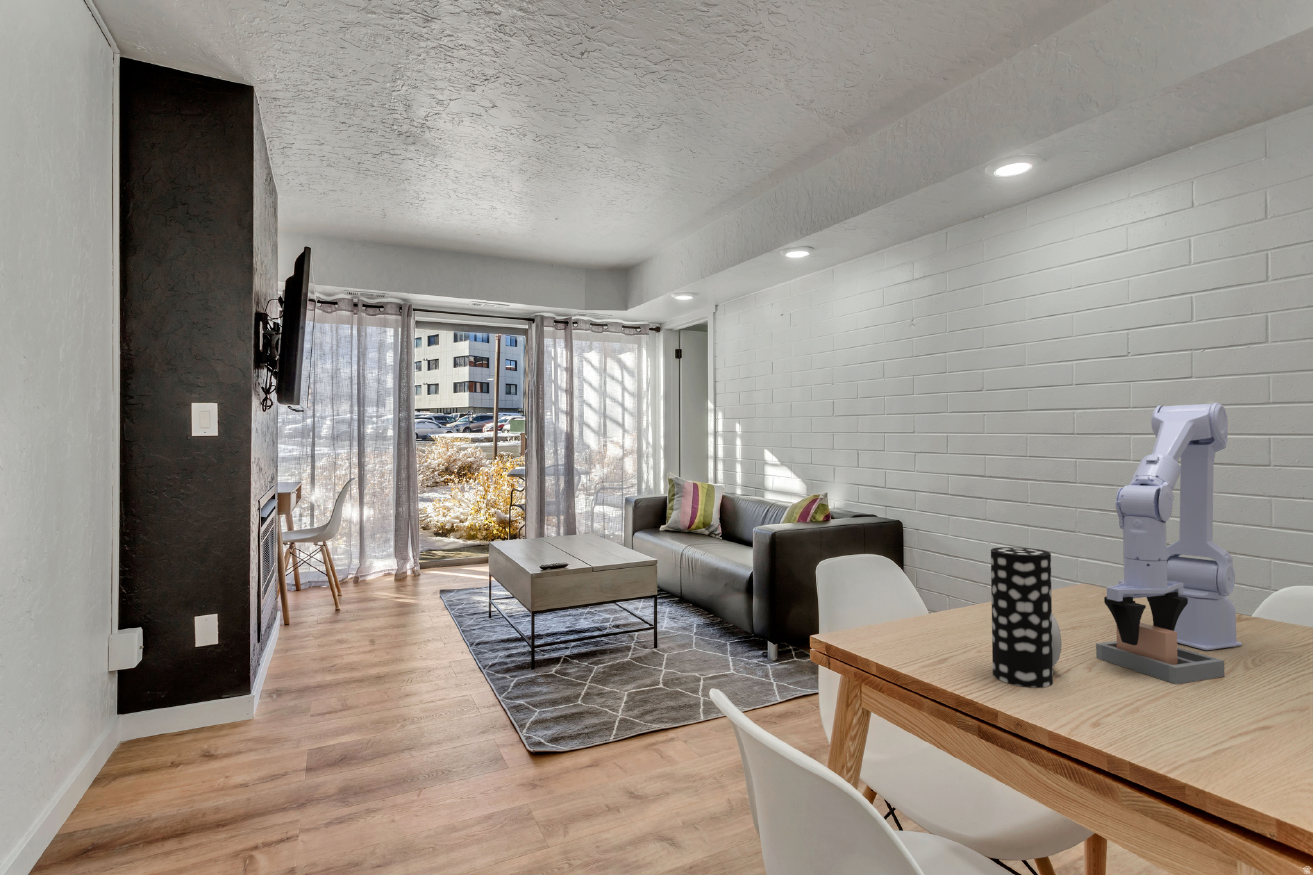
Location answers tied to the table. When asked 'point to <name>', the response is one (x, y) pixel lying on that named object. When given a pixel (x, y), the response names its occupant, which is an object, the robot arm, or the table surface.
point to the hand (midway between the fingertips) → (1146, 641)
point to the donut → (1055, 640)
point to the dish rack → (1164, 664)
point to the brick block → (1153, 644)
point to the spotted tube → (1022, 616)
